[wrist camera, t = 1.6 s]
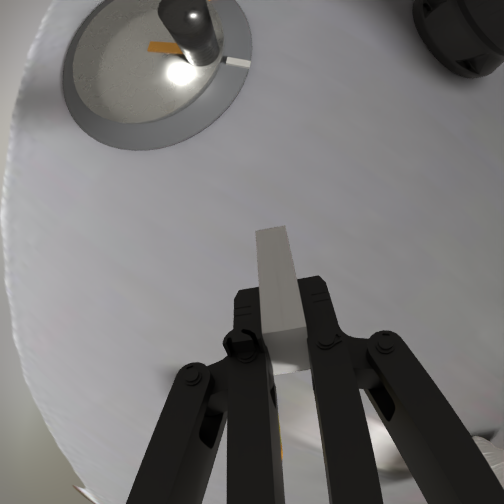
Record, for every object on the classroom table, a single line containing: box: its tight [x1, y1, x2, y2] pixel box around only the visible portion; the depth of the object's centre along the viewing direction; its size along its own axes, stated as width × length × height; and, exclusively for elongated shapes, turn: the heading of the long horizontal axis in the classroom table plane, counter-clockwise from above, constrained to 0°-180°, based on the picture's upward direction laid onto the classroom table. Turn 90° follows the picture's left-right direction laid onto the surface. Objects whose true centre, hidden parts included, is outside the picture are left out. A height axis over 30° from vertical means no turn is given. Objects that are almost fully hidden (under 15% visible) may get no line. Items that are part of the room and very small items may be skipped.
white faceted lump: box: [472, 436, 504, 489], centre depth 42 cm, size 21×27×26 cm
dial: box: [73, 0, 225, 124], centre depth 22 cm, size 18×18×13 cm
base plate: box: [63, 0, 252, 151], centre depth 29 cm, size 24×24×2 cm
